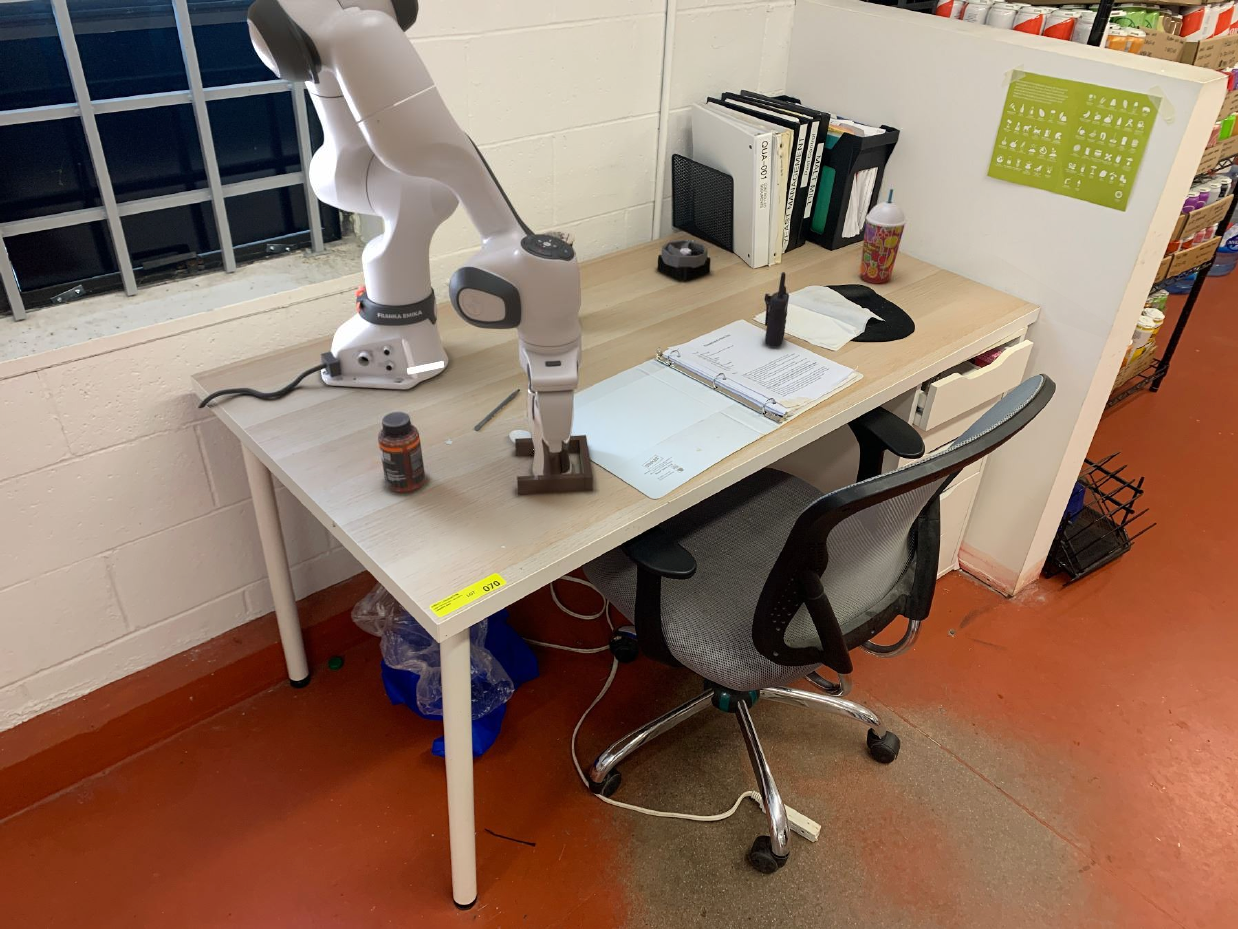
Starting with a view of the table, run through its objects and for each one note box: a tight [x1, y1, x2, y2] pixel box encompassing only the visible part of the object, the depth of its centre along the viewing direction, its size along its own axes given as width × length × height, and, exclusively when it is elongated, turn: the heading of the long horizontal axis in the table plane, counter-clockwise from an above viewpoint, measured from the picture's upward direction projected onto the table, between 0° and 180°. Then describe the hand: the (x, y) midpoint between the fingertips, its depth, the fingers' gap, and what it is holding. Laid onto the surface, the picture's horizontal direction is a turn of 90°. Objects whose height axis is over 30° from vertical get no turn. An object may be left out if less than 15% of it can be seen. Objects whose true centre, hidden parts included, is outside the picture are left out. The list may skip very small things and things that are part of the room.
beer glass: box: [526, 381, 575, 476], centre depth 136 cm, size 7×7×15 cm
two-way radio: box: [764, 271, 790, 348], centre depth 172 cm, size 6×4×15 cm
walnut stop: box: [514, 434, 594, 495], centre depth 140 cm, size 11×11×2 cm
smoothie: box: [859, 188, 907, 284], centre depth 197 cm, size 8×8×20 cm
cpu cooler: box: [656, 238, 711, 282], centre depth 202 cm, size 10×6×10 cm
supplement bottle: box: [377, 411, 426, 493], centre depth 134 cm, size 6×6×11 cm
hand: (552, 431), depth 137 cm, fingers open, 8 cm apart
